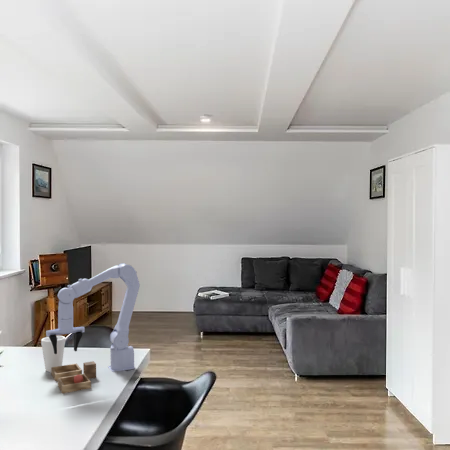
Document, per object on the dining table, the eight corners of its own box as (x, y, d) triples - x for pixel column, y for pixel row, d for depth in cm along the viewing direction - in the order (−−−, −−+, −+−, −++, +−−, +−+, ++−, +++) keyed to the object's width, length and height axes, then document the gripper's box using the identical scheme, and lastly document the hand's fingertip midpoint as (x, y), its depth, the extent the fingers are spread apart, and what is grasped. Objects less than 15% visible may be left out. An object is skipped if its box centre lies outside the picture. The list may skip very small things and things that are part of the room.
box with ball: (84, 381, 174) (84, 373, 174) (90, 389, 166) (90, 381, 166) (57, 386, 169) (57, 378, 169) (62, 394, 161) (62, 386, 161)
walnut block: (93, 376, 181) (93, 361, 181) (96, 379, 177) (96, 363, 177) (83, 377, 179) (83, 362, 179) (85, 380, 175) (85, 365, 175)
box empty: (76, 370, 187) (76, 363, 187) (82, 377, 179) (81, 370, 179) (51, 374, 183) (51, 367, 183) (55, 382, 174) (55, 374, 174)
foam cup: (57, 373, 184) (56, 341, 184) (36, 372, 186) (36, 340, 186) (69, 366, 193) (69, 336, 193) (50, 365, 195) (50, 335, 195)
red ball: (82, 381, 173) (82, 372, 173) (84, 384, 170) (84, 375, 170) (72, 383, 171) (72, 374, 171) (74, 386, 168) (74, 376, 168)
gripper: (81, 314, 188) (81, 347, 188) (44, 318, 180) (44, 352, 180) (86, 317, 182) (85, 351, 182) (48, 321, 174) (47, 356, 174)
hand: (65, 352), depth 180 cm, fingers open, 7 cm apart
